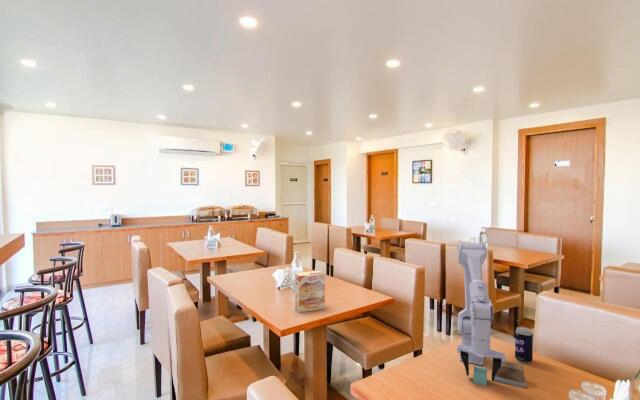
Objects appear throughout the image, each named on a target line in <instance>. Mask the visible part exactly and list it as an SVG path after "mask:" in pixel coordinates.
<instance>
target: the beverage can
mask: <svg viewBox="0 0 640 400" xmlns="http://www.w3.org/2000/svg"><path fill="white" fill-rule="evenodd" d="M514 334H515V339H514V357H515V359H516V360H517V361H518V362H520V363H522V364H530V363H531V362H533V359H534V358H533V355H534V354H533V351H534V349H533V347H534V333H533V331H532V329H531V328H529V327H526V326H517V327H516V329H515V333H514Z"/></svg>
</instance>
